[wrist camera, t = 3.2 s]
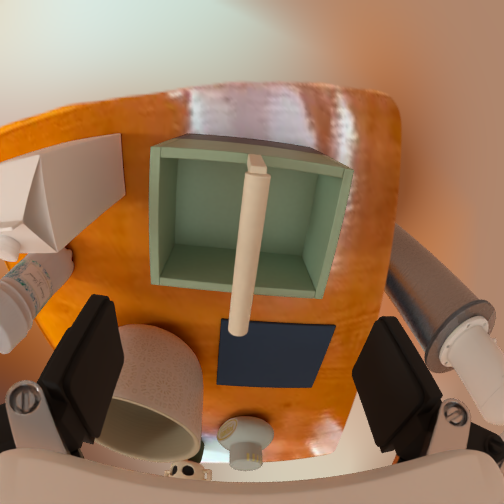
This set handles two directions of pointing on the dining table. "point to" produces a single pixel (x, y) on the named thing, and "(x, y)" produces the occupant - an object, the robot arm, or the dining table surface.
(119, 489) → the robot arm
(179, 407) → the planter
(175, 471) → the character mug
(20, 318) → the bottle
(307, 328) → the mat
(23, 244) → the milk carton
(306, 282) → the box
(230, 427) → the air freshener
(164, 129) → the dining table surface
